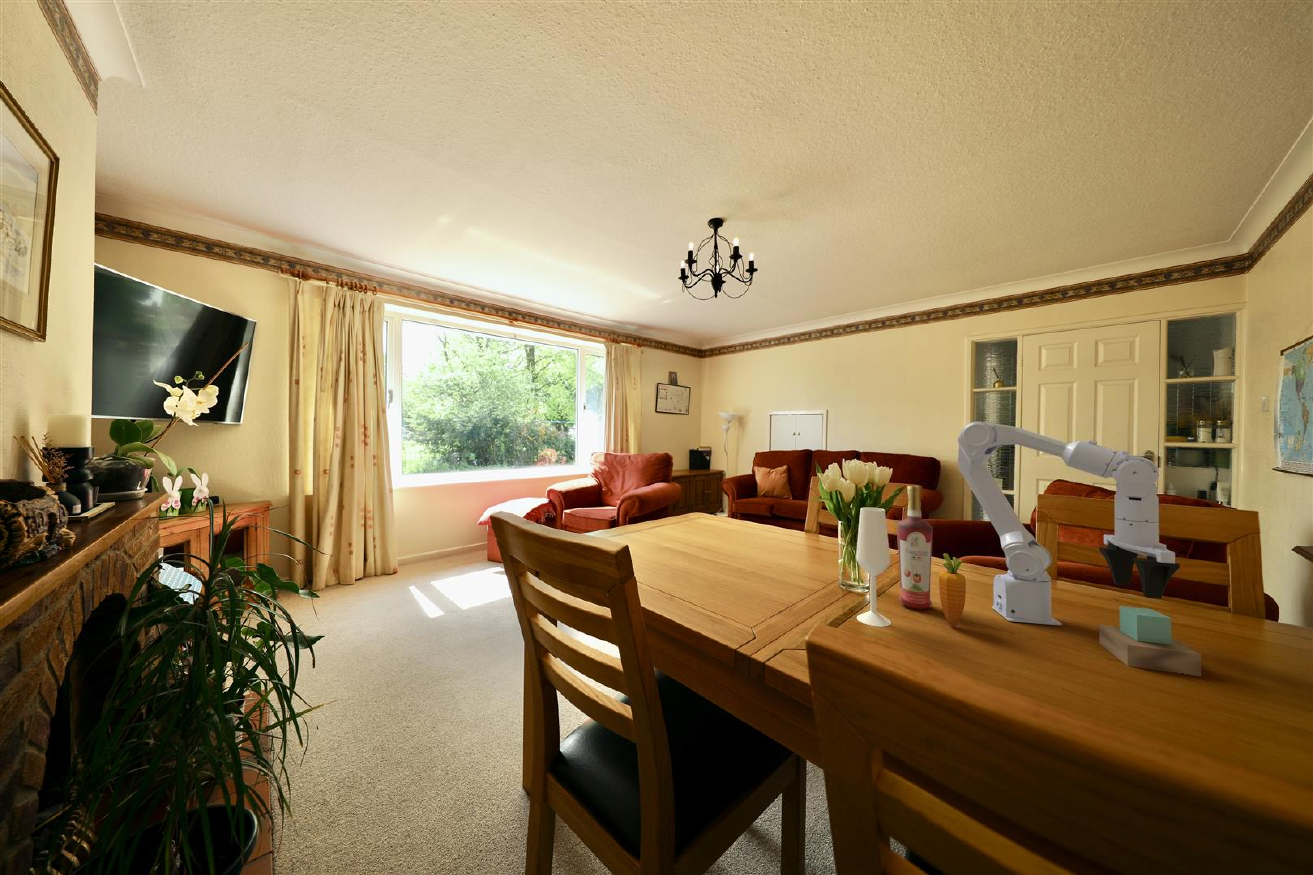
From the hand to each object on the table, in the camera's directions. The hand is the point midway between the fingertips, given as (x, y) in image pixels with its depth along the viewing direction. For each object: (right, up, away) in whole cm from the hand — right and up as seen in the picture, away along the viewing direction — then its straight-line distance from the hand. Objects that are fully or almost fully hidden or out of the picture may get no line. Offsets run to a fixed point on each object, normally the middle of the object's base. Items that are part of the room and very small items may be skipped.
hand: (1136, 590), depth 84 cm
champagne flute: (-45, -10, +11) cm, 47 cm away
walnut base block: (-5, -10, -6) cm, 13 cm away
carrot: (-30, -10, +7) cm, 33 cm away
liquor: (-31, -10, +19) cm, 38 cm away
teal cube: (-5, -6, -6) cm, 10 cm away
